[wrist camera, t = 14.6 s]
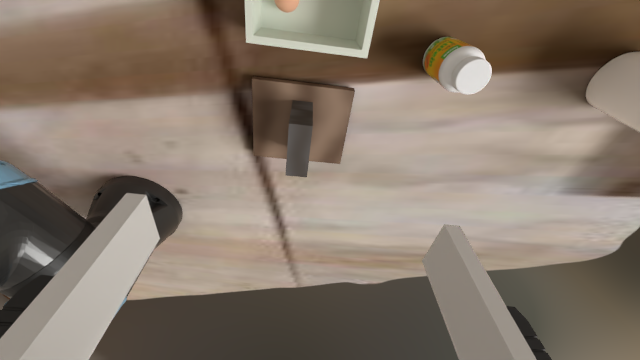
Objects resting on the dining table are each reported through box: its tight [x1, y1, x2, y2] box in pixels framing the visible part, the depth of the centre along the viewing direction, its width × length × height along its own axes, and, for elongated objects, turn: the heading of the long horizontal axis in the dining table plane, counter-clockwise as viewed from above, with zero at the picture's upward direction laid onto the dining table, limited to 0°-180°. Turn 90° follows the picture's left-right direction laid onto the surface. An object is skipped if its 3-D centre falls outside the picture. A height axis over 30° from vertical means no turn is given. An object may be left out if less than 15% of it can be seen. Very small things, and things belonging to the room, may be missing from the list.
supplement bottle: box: [423, 37, 492, 94], centre depth 34 cm, size 5×5×10 cm
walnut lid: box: [252, 76, 355, 177], centre depth 40 cm, size 15×13×10 cm
